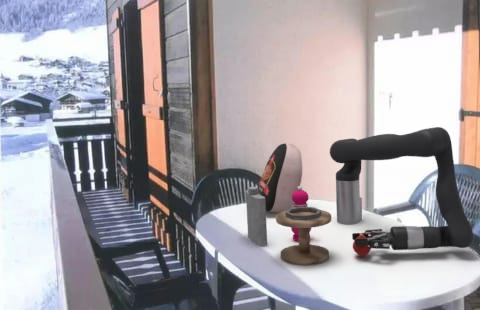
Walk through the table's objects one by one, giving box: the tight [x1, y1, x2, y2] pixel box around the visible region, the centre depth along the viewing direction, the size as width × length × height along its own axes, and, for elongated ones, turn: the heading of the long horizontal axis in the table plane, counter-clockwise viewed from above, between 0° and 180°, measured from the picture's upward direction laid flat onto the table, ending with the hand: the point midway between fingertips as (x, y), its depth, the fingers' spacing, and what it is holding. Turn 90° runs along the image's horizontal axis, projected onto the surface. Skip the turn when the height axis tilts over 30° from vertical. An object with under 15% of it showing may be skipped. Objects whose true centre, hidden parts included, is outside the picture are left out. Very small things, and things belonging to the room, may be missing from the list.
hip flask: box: [245, 186, 268, 248], centre depth 201 cm, size 16×4×20 cm, turn 16°
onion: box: [352, 232, 372, 258], centre depth 179 cm, size 6×6×8 cm
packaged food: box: [257, 142, 303, 214], centre depth 239 cm, size 22×20×30 cm
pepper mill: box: [290, 185, 312, 243], centre depth 199 cm, size 7×7×20 cm
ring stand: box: [275, 206, 332, 266], centre depth 181 cm, size 18×18×16 cm
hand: (353, 239), depth 179 cm, fingers closed on onion, 5 cm apart
